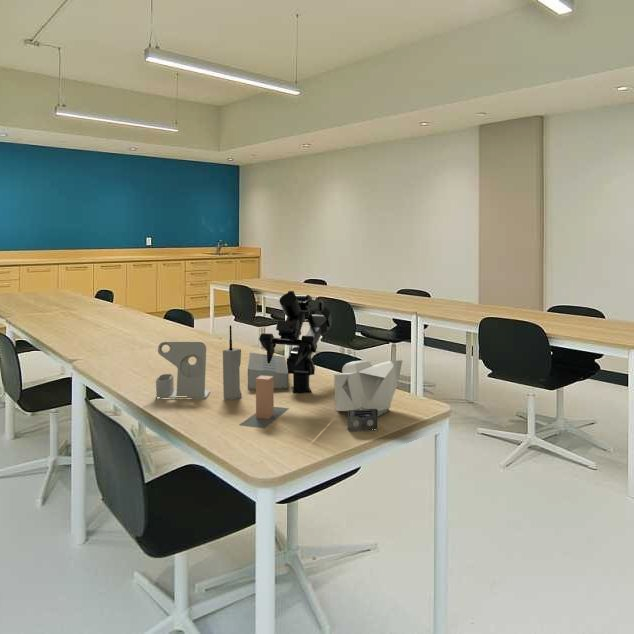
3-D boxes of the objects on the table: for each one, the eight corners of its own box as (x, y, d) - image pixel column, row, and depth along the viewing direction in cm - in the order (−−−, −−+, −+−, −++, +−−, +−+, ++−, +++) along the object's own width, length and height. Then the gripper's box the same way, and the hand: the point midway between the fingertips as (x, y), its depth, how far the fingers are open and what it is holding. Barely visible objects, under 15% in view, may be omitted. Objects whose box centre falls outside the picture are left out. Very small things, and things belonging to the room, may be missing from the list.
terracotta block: (261, 413, 173) (261, 375, 172) (273, 415, 172) (273, 376, 170) (256, 417, 170) (255, 378, 168) (268, 419, 168) (268, 379, 167)
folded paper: (329, 358, 174) (368, 373, 161) (384, 350, 189) (424, 362, 176) (326, 411, 177) (363, 430, 164) (380, 398, 192) (419, 414, 179)
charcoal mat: (265, 407, 182) (265, 405, 182) (289, 409, 179) (289, 408, 179) (238, 426, 163) (238, 425, 163) (264, 429, 160) (264, 427, 160)
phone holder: (153, 399, 190) (152, 346, 187) (161, 391, 200) (159, 341, 197) (206, 399, 190) (205, 346, 188) (210, 391, 200) (209, 341, 198)
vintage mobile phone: (241, 397, 192) (241, 324, 189) (231, 401, 188) (230, 326, 185) (233, 396, 194) (232, 323, 191) (223, 399, 190) (222, 325, 187)
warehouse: (287, 389, 205) (287, 368, 204) (247, 389, 204) (247, 369, 203) (285, 370, 235) (285, 352, 234) (250, 370, 234) (249, 352, 233)
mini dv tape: (376, 428, 162) (376, 408, 161) (377, 430, 160) (377, 409, 160) (347, 429, 161) (348, 409, 160) (348, 431, 159) (349, 410, 158)
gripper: (261, 309, 188) (247, 347, 179) (314, 311, 182) (303, 351, 173) (270, 329, 196) (257, 367, 187) (321, 332, 191) (311, 371, 182)
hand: (281, 363), depth 182 cm, fingers open, 9 cm apart
